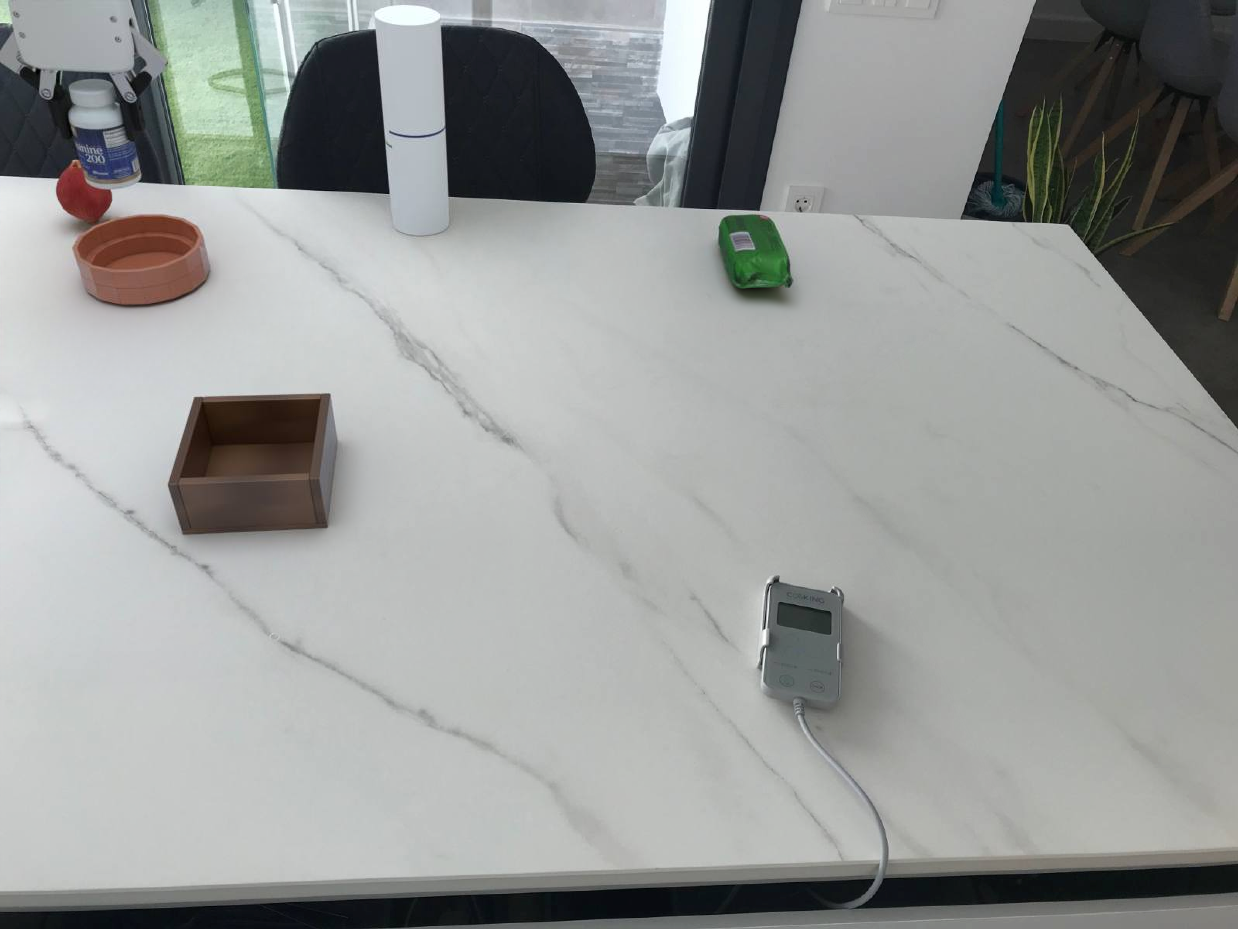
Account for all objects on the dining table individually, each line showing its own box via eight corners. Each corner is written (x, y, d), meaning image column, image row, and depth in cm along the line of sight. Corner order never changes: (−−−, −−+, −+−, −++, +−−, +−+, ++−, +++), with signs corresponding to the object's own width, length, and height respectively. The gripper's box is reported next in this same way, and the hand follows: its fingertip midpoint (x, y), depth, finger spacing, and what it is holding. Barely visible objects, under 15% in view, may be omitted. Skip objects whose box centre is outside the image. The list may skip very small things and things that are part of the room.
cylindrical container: (424, 241, 121) (410, 29, 104) (380, 224, 123) (360, 14, 107) (460, 220, 125) (453, 14, 109) (417, 204, 128) (404, 0, 112)
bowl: (70, 308, 104) (57, 272, 101) (101, 248, 114) (90, 214, 111) (198, 306, 106) (190, 271, 103) (218, 248, 116) (211, 214, 113)
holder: (182, 534, 81) (167, 484, 77) (206, 444, 89) (193, 396, 86) (327, 527, 82) (319, 478, 79) (337, 440, 91) (330, 392, 87)
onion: (56, 223, 118) (35, 159, 112) (99, 207, 121) (81, 144, 116) (85, 238, 115) (65, 174, 110) (129, 222, 119) (111, 159, 114)
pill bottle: (74, 180, 101) (47, 85, 95) (119, 164, 105) (96, 72, 99) (109, 195, 99) (84, 99, 93) (153, 179, 103) (132, 86, 97)
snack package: (731, 305, 114) (738, 265, 111) (711, 239, 126) (717, 202, 123) (790, 306, 115) (799, 267, 112) (765, 241, 127) (772, 204, 124)
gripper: (164, -66, 92) (199, 124, 103) (-37, -79, 89) (22, 118, 100) (146, -46, 86) (185, 153, 98) (-69, -59, 83) (-2, 147, 95)
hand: (102, 133), depth 99 cm, fingers closed on pill bottle, 5 cm apart
